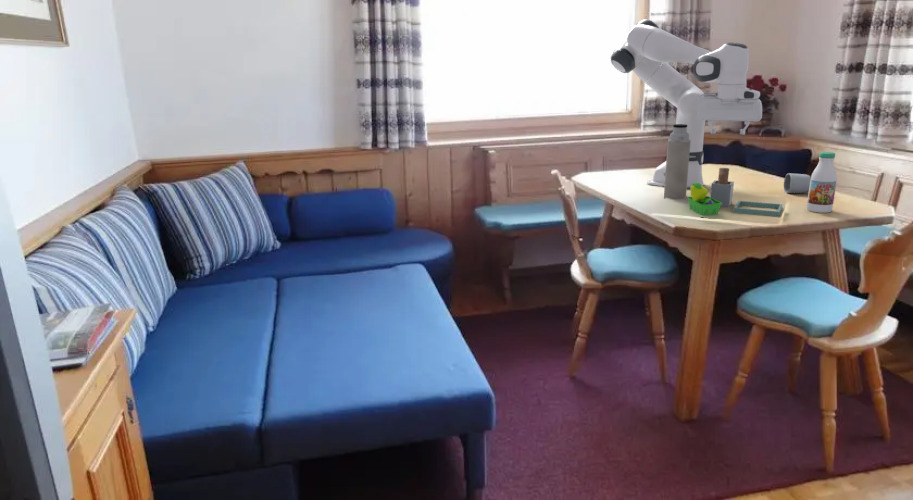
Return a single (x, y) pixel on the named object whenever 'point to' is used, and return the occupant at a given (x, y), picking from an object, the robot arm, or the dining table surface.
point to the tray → (756, 211)
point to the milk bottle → (822, 184)
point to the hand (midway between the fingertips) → (727, 134)
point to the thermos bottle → (677, 163)
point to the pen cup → (722, 193)
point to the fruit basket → (702, 201)
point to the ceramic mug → (797, 183)
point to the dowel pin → (723, 175)
